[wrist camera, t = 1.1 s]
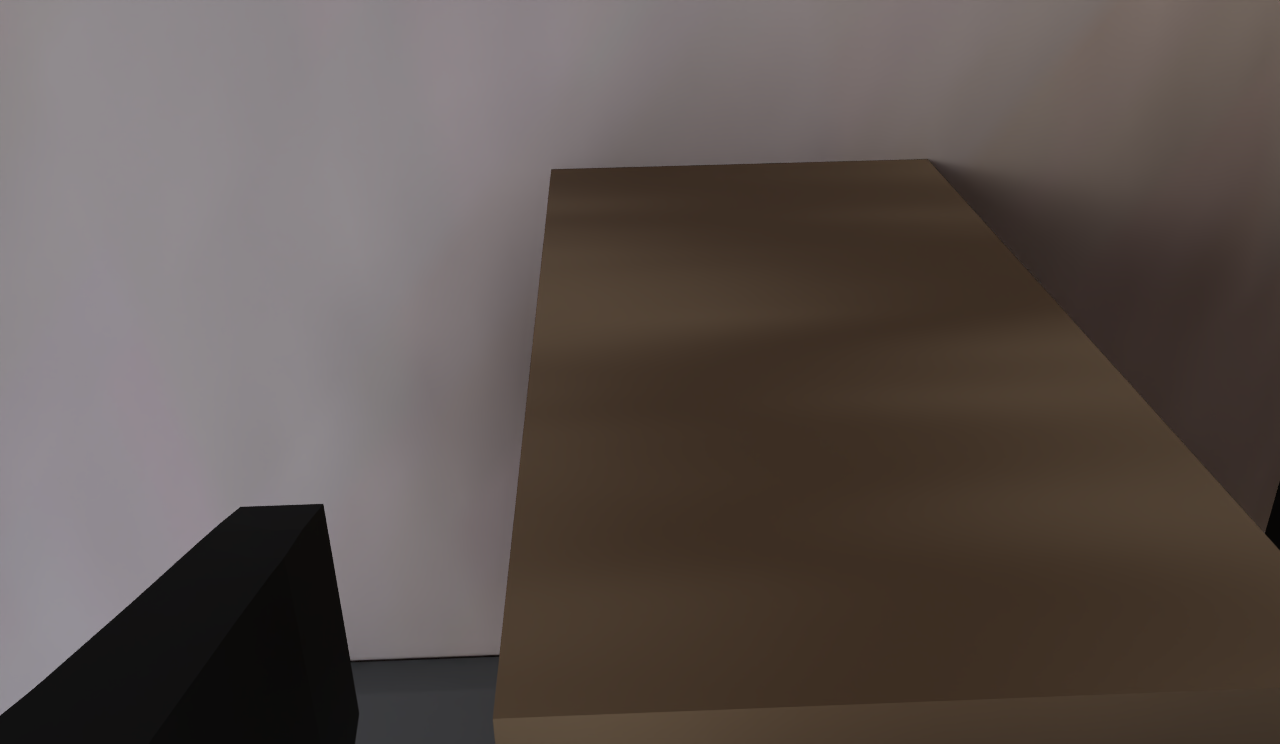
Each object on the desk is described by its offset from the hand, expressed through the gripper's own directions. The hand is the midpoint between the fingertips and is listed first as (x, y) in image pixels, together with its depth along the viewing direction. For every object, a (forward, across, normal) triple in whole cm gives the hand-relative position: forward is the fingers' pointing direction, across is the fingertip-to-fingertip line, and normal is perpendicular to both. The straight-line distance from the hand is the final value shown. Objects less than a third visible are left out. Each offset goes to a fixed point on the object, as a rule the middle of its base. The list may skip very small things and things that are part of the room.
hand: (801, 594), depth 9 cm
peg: (+5, 0, 0) cm, 5 cm away
